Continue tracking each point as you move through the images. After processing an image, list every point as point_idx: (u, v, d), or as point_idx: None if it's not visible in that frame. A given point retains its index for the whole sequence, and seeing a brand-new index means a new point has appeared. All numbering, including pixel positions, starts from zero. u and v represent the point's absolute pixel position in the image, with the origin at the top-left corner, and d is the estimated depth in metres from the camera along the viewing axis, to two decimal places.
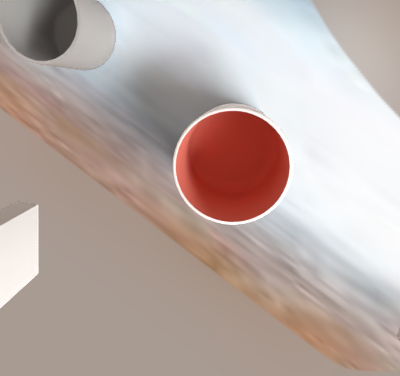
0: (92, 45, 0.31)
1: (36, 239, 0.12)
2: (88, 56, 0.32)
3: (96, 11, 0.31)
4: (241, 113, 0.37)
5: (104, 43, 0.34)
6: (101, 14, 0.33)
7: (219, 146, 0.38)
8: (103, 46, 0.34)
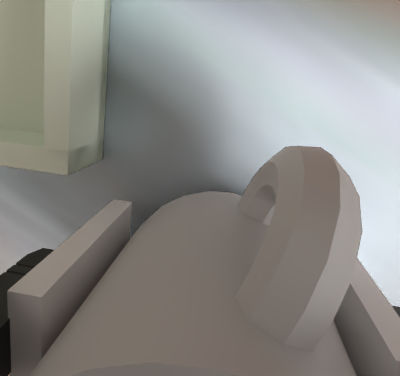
0: None
1: (129, 233, 0.14)
2: None
3: (337, 331, 0.09)
4: None
5: None
6: None
7: None
8: None
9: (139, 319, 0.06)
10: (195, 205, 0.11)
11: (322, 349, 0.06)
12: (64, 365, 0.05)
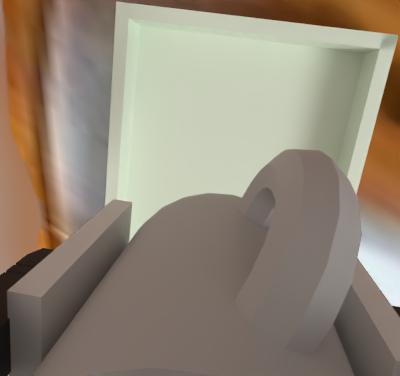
0: None
1: (129, 233, 0.14)
2: None
3: (337, 334, 0.09)
4: None
5: None
6: None
7: None
8: None
9: (138, 323, 0.06)
10: (195, 207, 0.11)
11: (321, 353, 0.06)
12: (63, 370, 0.05)
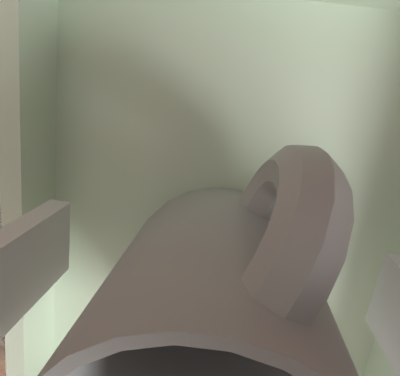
0: None
1: (68, 236, 0.13)
2: None
3: (332, 316, 0.10)
4: None
5: None
6: None
7: None
8: None
9: (155, 298, 0.06)
10: (200, 200, 0.12)
11: (318, 326, 0.07)
12: (90, 336, 0.06)
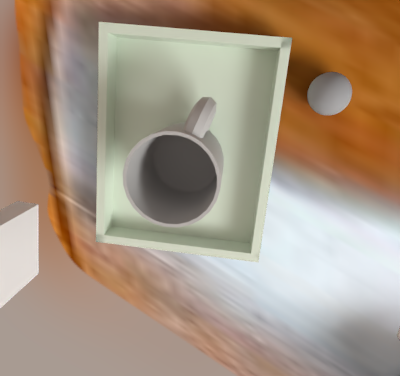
0: None
1: (36, 239, 0.12)
2: None
3: (219, 154, 0.28)
4: None
5: None
6: (220, 152, 0.30)
7: None
8: None
9: (160, 131, 0.25)
10: None
11: (203, 139, 0.26)
12: None
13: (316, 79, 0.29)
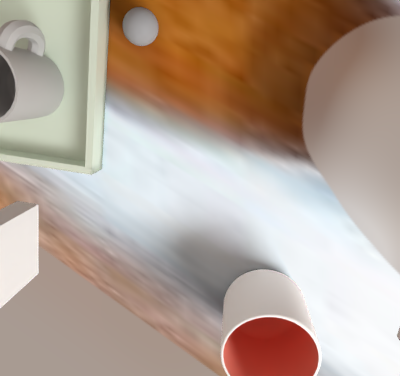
0: (35, 102, 0.34)
1: (36, 239, 0.12)
2: (33, 111, 0.35)
3: (39, 71, 0.34)
4: None
5: (50, 97, 0.36)
6: (45, 72, 0.35)
7: None
8: (49, 99, 0.36)
9: None
10: None
11: (9, 51, 0.31)
12: None
13: (127, 13, 0.35)
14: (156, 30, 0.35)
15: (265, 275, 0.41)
